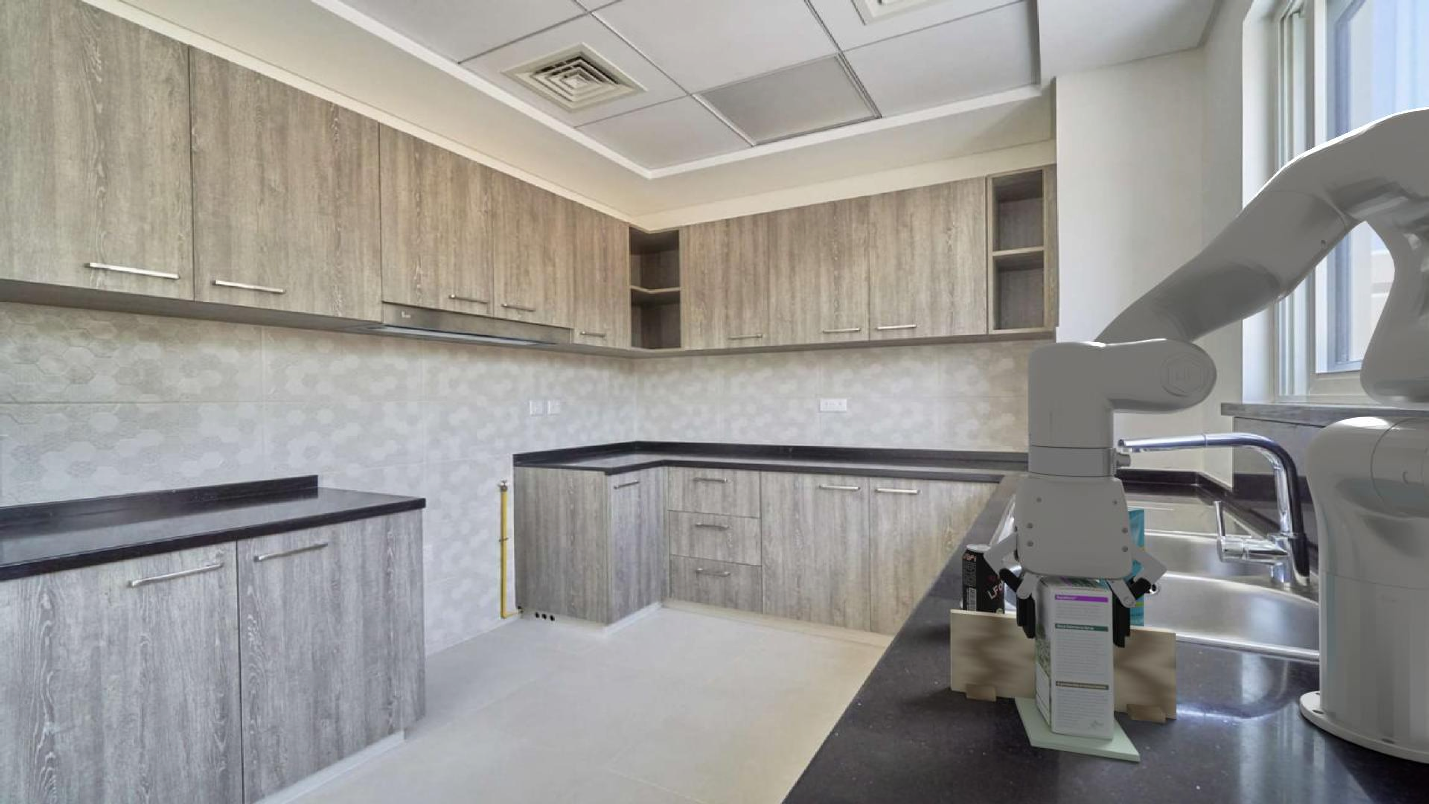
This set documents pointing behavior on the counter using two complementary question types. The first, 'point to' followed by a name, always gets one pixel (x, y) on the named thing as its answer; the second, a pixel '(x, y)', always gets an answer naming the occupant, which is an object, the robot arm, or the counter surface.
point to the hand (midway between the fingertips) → (1071, 636)
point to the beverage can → (981, 582)
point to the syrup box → (1074, 656)
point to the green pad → (1094, 746)
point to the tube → (1135, 564)
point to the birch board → (1004, 664)
